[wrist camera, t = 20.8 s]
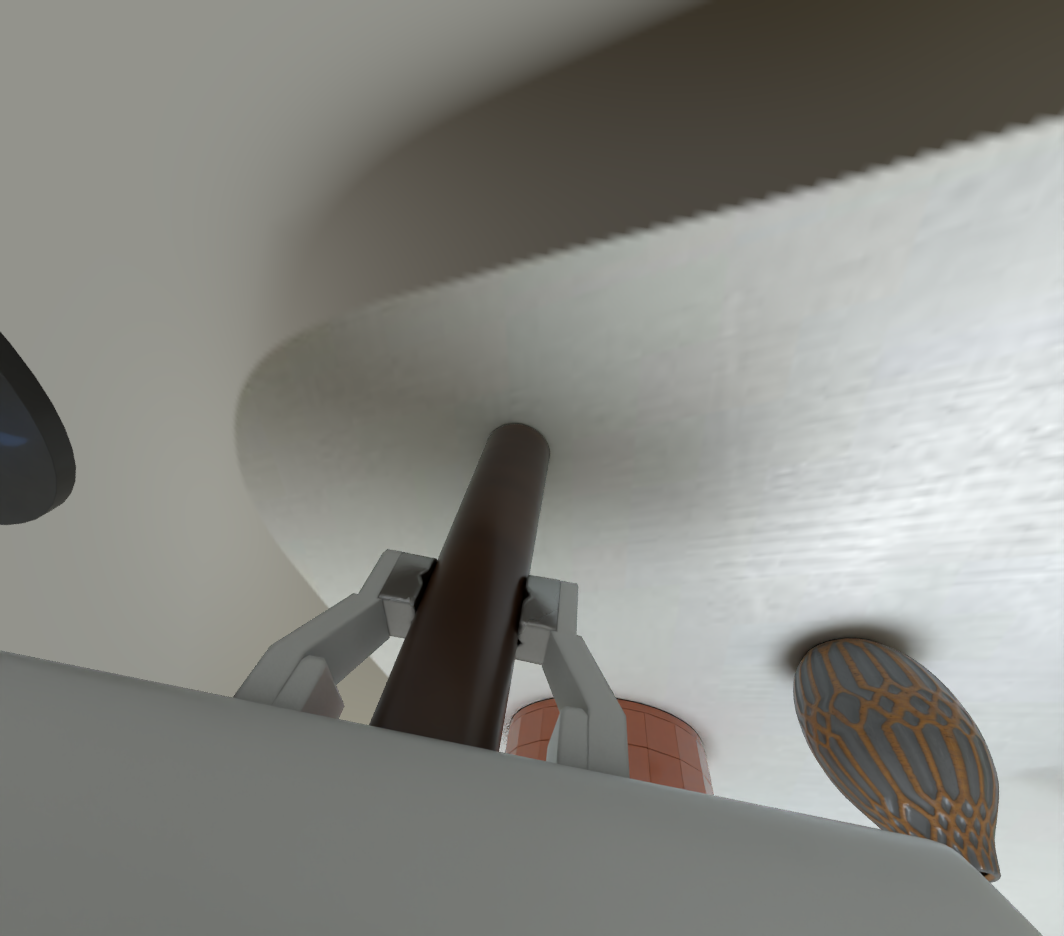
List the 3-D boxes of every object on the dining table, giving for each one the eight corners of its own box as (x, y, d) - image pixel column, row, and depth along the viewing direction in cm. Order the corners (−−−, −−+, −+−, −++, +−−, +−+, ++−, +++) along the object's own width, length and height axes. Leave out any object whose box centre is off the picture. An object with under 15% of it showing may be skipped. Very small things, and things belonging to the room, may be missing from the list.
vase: (758, 678, 24) (826, 876, 17) (805, 614, 20) (918, 838, 13) (875, 694, 24) (996, 907, 17) (947, 631, 20) (1148, 877, 13)
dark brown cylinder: (485, 470, 18) (329, 881, 7) (487, 418, 16) (287, 861, 6) (545, 480, 17) (471, 912, 7) (554, 429, 16) (472, 902, 6)
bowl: (503, 756, 38) (493, 823, 34) (517, 679, 29) (505, 759, 25) (666, 789, 37) (675, 861, 33) (736, 721, 28) (760, 810, 24)
